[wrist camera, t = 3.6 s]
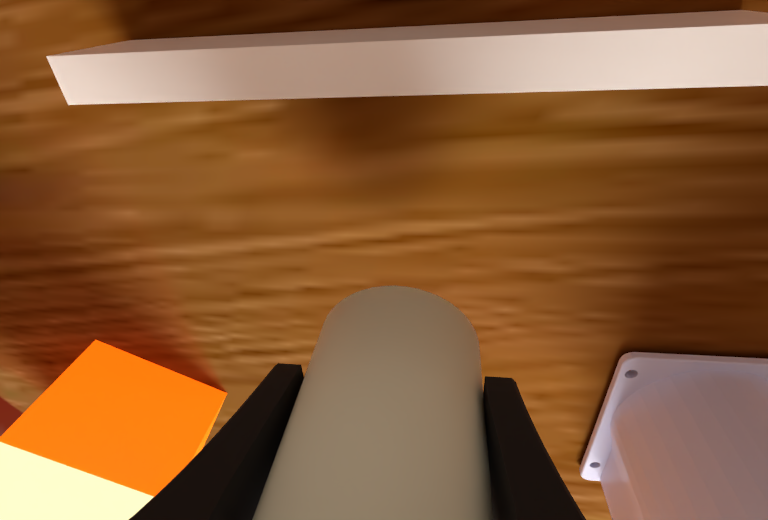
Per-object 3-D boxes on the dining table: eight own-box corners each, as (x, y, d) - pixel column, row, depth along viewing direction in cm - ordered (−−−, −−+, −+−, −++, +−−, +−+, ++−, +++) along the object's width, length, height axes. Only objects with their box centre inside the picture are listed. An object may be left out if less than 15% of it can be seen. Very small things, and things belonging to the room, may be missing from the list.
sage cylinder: (474, 405, 13) (491, 708, 8) (331, 394, 13) (254, 668, 8) (485, 288, 10) (524, 616, 5) (310, 282, 11) (180, 569, 6)
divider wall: (723, 59, 12) (812, 84, 9) (144, 79, 14) (67, 104, 11) (741, 10, 11) (843, 20, 8) (131, 39, 14) (46, 56, 11)
